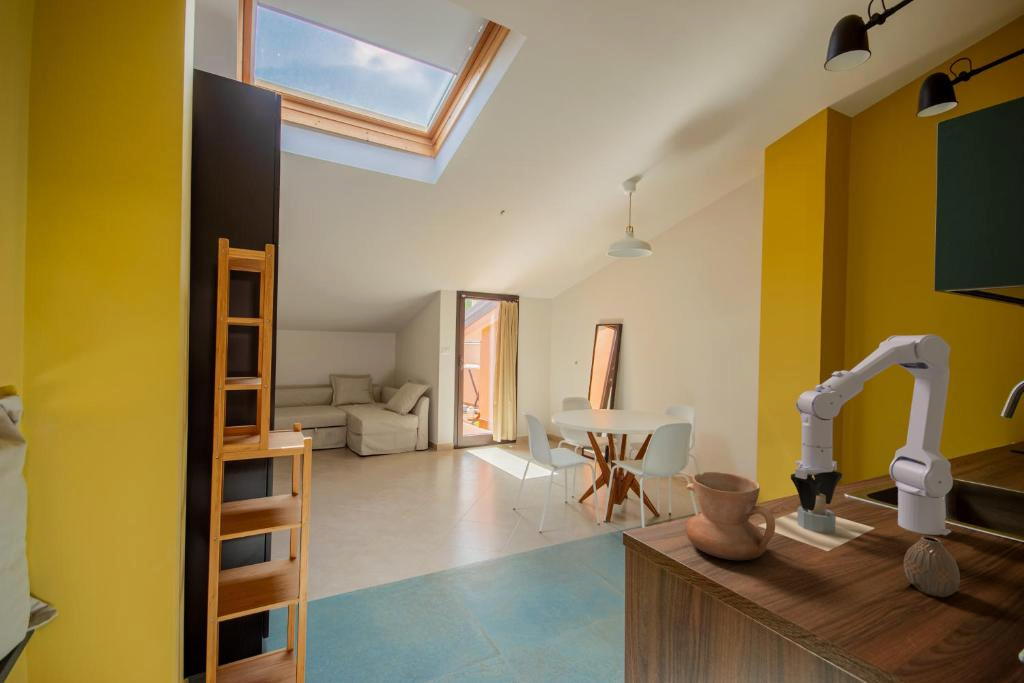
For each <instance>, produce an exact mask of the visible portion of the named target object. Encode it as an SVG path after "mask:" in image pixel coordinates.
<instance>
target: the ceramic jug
mask: <svg viewBox="0 0 1024 683" xmlns="http://www.w3.org/2000/svg"><path fill="white" fill-rule="evenodd" d="M686 490H689V491H692V492H694V494H695V496H696V498H697V502H698V505H699V507H700V509H701V512H700V513H698V514H696V515H694V516H693V515H692V517H689V518H688V520H687V522H686V523H685V534H686V537H687V538H688V541H690V543H691V544H692V545H693V546H694V547H695V548H697V549H699V551H700V552H701V551H702V552H703V553H705V554H707V555H710V556H712V557H715V558H720V559H721V560H728V561H748V560H754V559H757V558H759V557H760V556H762V555H763V554H764V553H765V551H766V549H767V545H768V544H769V542H771V540H772V539H773V537H774V534H775V520H774V519H775V516H774V515H773V513H772V512H771V511H770V510H769V509H767V508H765V507H764V506H761V505H760V506H759V505H757V502H758V499H759V496H760V490H761V486H760V484H759V483H758V482H757V481H755V480H753V478H750V477H746V476H743V475H740V474H735V473H730V472H729V473H728V472H723V471H722V472H720V471H719V472H718V471H702V472H701V473H699V472H697V473H695V474H693V476H692V483H688V484H687V486H686ZM756 514H759V515H761V516H763V517H764V519H765V523H766V529H765V532H764V534H763V533H762V531H761V530H760V529H759V528H758V526H755V525H754V524H753V523H752V522H751V521H750V520H749V519H750V517H752V516H754V515H756Z"/></svg>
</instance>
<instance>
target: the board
mask: <svg viewBox="0 0 1024 683" xmlns="http://www.w3.org/2000/svg"><path fill="white" fill-rule="evenodd" d="M774 520H775V532H774V534H775V533H776V534H778V535H781V536H784V537H787V538H790V539H791V540H794V541H798V542H801V543H803V544H807V545H809V546H812V547H815V548H817V549H820V550H823V551H825V552H830V551H832V550H834V549H836V548H838V547H839V546H841V545H843V544H846V543H848V542H850V541H852V540H854V539H856V538H858V537H860V536H862V535H864V534H866V533H869V532H871V531H873V530H874V529H876V528H875V527H873V526H869V525H865V524H863V523H859V522H856V521H852V520H849V519H845V518H842V517H839V516H836V521H835V532H833V533H818V532H813V531H810V530H807V529H804V528H802V527H801V526H799V525H798V510H797V511H794V512H792V513H789V514H785V515H782V516H781V517H777V518H774ZM757 527H759V528H761V529H765V530H766V522H764V523H761V524H758V525H757Z"/></svg>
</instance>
